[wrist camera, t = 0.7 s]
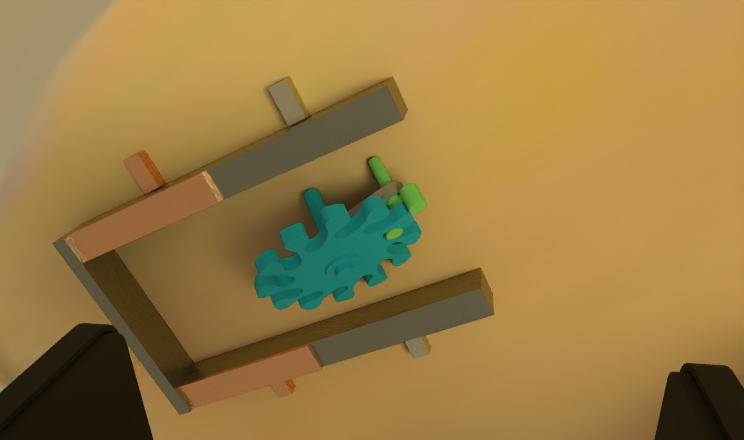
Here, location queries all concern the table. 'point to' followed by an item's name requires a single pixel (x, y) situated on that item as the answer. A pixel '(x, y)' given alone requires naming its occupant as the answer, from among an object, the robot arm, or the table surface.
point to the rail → (222, 180)
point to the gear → (342, 245)
